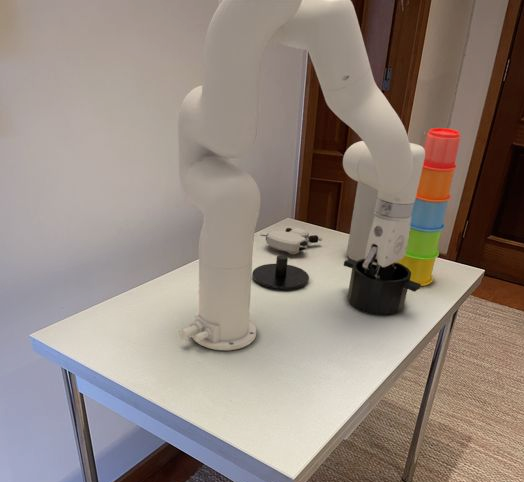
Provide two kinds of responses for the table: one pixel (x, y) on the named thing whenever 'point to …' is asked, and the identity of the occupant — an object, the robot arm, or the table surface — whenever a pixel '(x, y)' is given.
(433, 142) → the stacking cups
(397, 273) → the pan
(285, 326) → the table surface
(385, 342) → the table surface
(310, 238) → the robot toy
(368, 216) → the cylinder vase
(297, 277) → the pan lid
